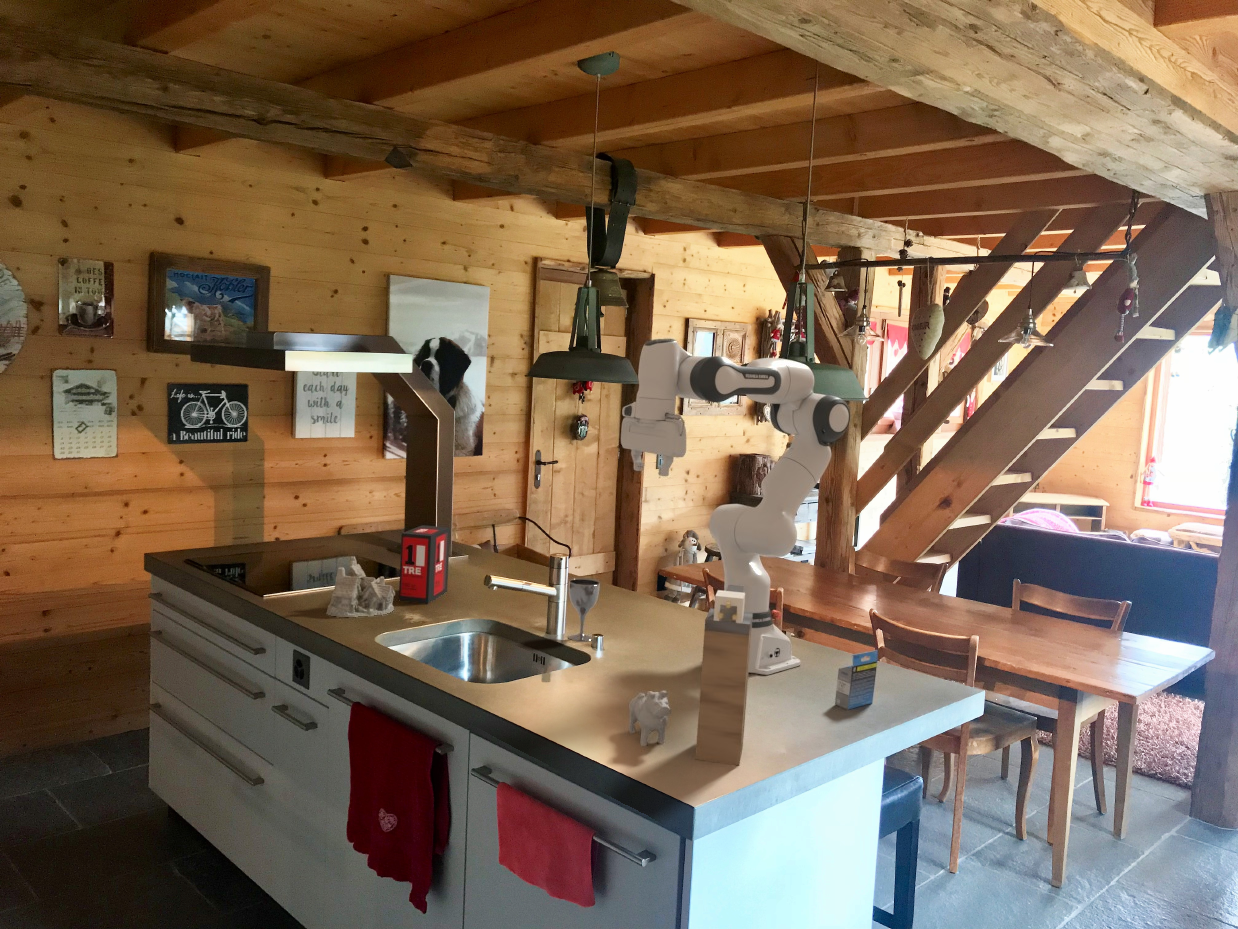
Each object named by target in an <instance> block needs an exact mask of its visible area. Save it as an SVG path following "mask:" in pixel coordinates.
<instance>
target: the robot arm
mask: <svg viewBox="0 0 1238 929" xmlns="http://www.w3.org/2000/svg"><path fill="white" fill-rule="evenodd" d="M637 378H638V383H639V384H638V385H639V386H638V390H637V393H636V399H635V401H633V403H630V404H628V405H625V406H623V407H622V412H621V413H622V416H623V419H622V422H621V430H620V431H621V432H620V444H621V445H622V446H621V447H622V448H623V449H628V450H631V453H630V455H631V458H632V462H633V470H634V471H637V472H641V471H644V467H645V463H643V461H642V455H643V453H647V454H654V455H660V456H661V457H662V458H661V460H662V461H663V462H662V464H661V467H658V476H661V477H668V476H669V474H670V468H671V466H672V464H673V463H674V459H675V458H684V457H685V455H686V453H687V428H686V426H685V425H686V423H685V420H684V418H683V417H682V415H681V414H679V413H677V414H676V408H677V407H676V406H677V404H676V403H677V397H678V398H682V399H690V400H691V399H692V400H699V401H700V400H701V401H706V402H710V403H723V402H725V401H727V400H729V399H730V398H733V397H735V396H738V395H745V396H746V398H748V399H749V400H751V401H754V402H756V403H757V402H758V403H762V404H769V405H770V408H769V409H770V410H769V418H770V423H771V425H772V427H773V428H774V429H776V431H778V432H780V433H783V434H785V435H792V436H793V440H792V441H791V442H792V443H791V445H790V447H789V448H788V449H787V450H786V451H785V452H784V453H783V454H782V455H781V456H780V458H779V459H778V460H777V462H776V463H775V464H774V465H773V467H772V468H770V470H769V471H768V473H767V474H766V475H765V476H764V478H762V480H761V485H760V487H761V492H762V495H763V498H762V500H761V502H759V504H758V505H756V506H749V505H744V504H740V503H730V504H722V505H719V506H718V507H716V508H714V510H713V511H712V513H711V515H710V517H709V521H708V522H709V523H708V530H709V533H710V535H711V537H712V538H713V539H714V541H715V543H716V544H717V547H718V549H719V552H720V556H721V562H722V565H723V572H724V585H723V586H724V590H723V591H726V590H727V587H728V585H737V586H744V592H743V593H745V603H744V612H749V613H753V618H752V632H751V645H750V658H749V672H748V673H751V674H759V675H765V676H767V675H771V674H775V673H778V672H781V671H786V670H788V669H792V668H795V667H799V666H801V662H802V661H801V659H799V658H797V657H796V656H794V655H792V654H793V652H792V650H793V648H792V642H791V639H790V638H789V637H788V636H787V635H786V634H785V633H784V632H782V630H780V629H779V628H778V627H777V626H776V625H775V624H774V620H773V619H776V620H780V619H781V618H782V612H781V611H779V610H776V609H773V610H771V609H770V607H769V606H770V597H771V596H770V594H771V582H772V581H771V578H770V575H769V573H768V572H767V570H766V569H765V567H764V566H763V564H762V561H761V557H764V558H782V557H785V556H787V555H788V554H790V553H791V552H792V551H793V549H794V547H795V546H796V543H797V539H798V531H797V526H796V524H795V520H796V515H797V513H798V511H799V508H800V507H801V506H802V504H803V502H804V501H805V500H806V499H807V497H808V496H809V494H810V493H811V491H812V490H813V489H814V488H815V487H816V485H817V484H818V483H819V481H820V479H821V478H822V476H823V475H824V473H825V472H826V470H827V468H828V465H829V464H830V462H831V459H832V449H831V446H834V445H835V444H837V443H838V442H839V441H840V438H841V437H842V436H843V435H844V434H845V433H846V431H847V429H848V427H849V425H850V421H851V412H850V408H849V404H848V403H847V402H846V400H844V399H842V398H840V397H838V396H835V395H830V394H822V393H814V392H815V391H814V387H815V376H814V372H813V371H812V369H811V367H809V366H808V365H806V364H804V363H802V362H799V361H795V360H792V359H786V358H779V357H763V358H757V359H753V360H751V361H749V362H748V364H747V365H746V366H743V365H738V364H736V363H735V362H733V361H732V360H730V359H728V358H727V357H724V356H720V355H719V356H718V355H716V356H698V355H697V356H695V355H693V354H691V353H689V352H688V351H686V350H685V349H684V348H682V346H681V345H680V344H679V343H678V340H676V339H674V338H656V339H650V340H648V341H646V342H645V343H644V344H643V347H642V349H641V353H640V356H639V363H638V375H637ZM760 556H761V557H760Z"/></svg>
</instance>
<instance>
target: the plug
mask: <svg viewBox="0 0 1238 929" xmlns="http://www.w3.org/2000/svg"><path fill="white" fill-rule="evenodd" d="M743 592H744V586H737V585H728V587H727V590H726V591H724V590H720V589H717V591H716V594H715V598H714V608H713V609H714V620H715V621H724V622H733V623H742V620H743V616H744V603H745V593H743Z"/></svg>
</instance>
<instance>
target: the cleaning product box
mask: <svg viewBox="0 0 1238 929" xmlns="http://www.w3.org/2000/svg"><path fill="white" fill-rule="evenodd" d="M450 537H451V527H445V526H435V525H419V526H417V527H415V528H412V529H409V530H407V531H405V532H401V544H400V560H399V562H400V566H399V567H400V568H399V587H398V588H399V590H398V601H399V600H400V601H399V602H401V601H409V602H408V603H411V602H417V603H416V604H421V603H425V604H424V605H429V604H431V603H432V602H434V601H435V600H437V599H438V597H439V596H440V597H442V596H443V595H445V594H446V593H445V592H447V593H448V583H449V582H448V579H449V578H448V576H449V561H450V560H449V559H450V541H451V540H450V539H451V538H450ZM444 593H445V594H444ZM441 595H442V596H441ZM440 597H439V598H440ZM436 598H437V599H436ZM433 600H434V601H433ZM431 601H432V602H431ZM430 602H431V603H430ZM428 603H429V604H428Z"/></svg>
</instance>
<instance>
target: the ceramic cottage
mask: <svg viewBox="0 0 1238 929" xmlns="http://www.w3.org/2000/svg"><path fill="white" fill-rule="evenodd" d="M385 582H386V581H385V577H384V576H379V577H378V578H377V579H376V578H375V577H372V576H371V577H368V576H367V575H366V573H365V571H364V570H363V569H362V567H361V565H360V564H359V563H357V559H356V556H350V561H349V569H348V571H347V572H346V569H345V568H344V567H342V566H340V567H338V568H337V573H336V577H335V583H334V585H335V586H334V590H333V592H332V594H331V599H330V602H329V604H328V605H327V610H326V615H327V614H328V615H331V616H339V617H356V618H359V617H358V616H368V617H375V616H374V615H382V616H384V615H383V614H387V613H390V612H391V613H393V612H394V611H395V609H394V608H395V606H394V605H393V603H394V602H393V601H394V596H396V591H395V589H394V588H393V586H392V585H387V584H386V583H385ZM393 610H394V611H393ZM392 611H393V612H392ZM391 613H390V614H391ZM328 615H327V616H328ZM387 615H388V614H387ZM331 616H330V617H331ZM339 617H338V618H339Z"/></svg>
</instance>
